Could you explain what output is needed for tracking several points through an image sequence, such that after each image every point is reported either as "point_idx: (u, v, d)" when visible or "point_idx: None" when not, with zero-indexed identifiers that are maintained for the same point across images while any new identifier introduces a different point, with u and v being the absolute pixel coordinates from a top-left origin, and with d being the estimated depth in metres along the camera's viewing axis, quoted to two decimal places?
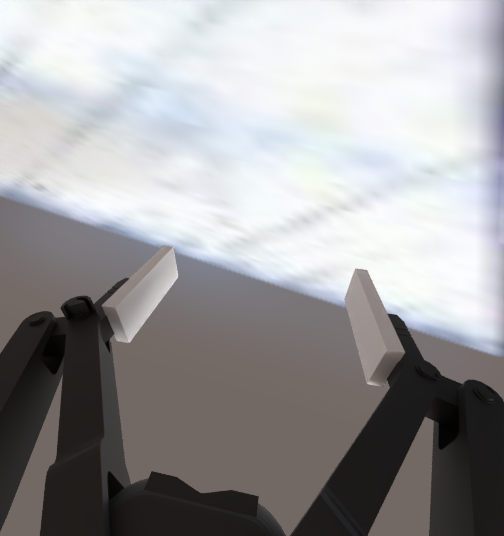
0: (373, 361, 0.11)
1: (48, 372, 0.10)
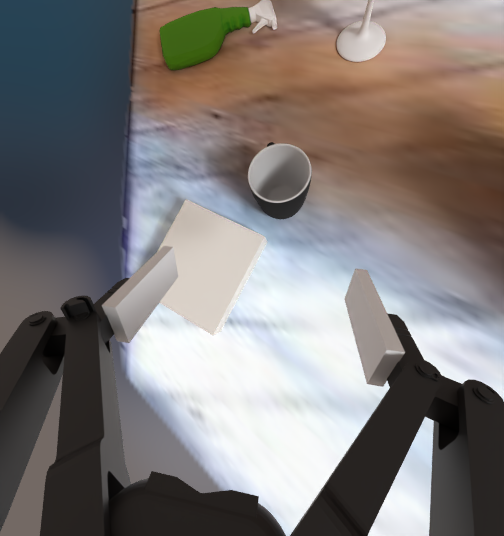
0: (373, 361, 0.11)
1: (48, 372, 0.10)
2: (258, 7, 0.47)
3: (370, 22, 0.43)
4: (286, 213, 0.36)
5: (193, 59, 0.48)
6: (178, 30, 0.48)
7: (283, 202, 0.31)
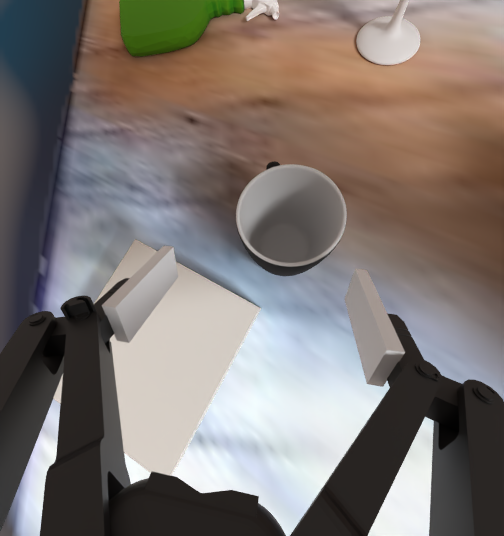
0: (373, 361, 0.11)
1: (48, 372, 0.10)
2: None
3: None
4: (295, 274, 0.22)
5: (163, 44, 0.35)
6: (144, 5, 0.35)
7: (299, 266, 0.18)
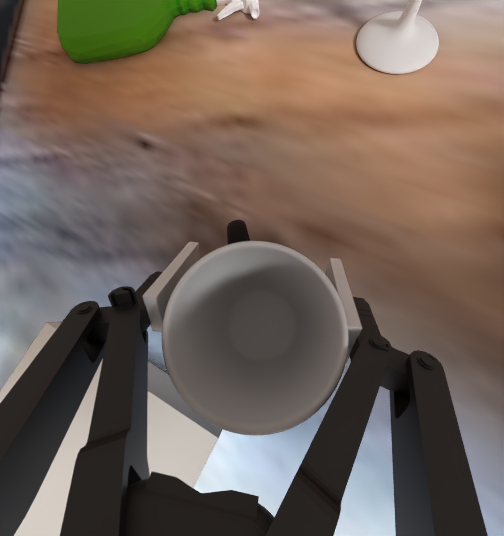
0: None
1: (88, 360, 0.11)
2: None
3: None
4: None
5: (111, 48, 0.27)
6: None
7: (265, 434, 0.10)
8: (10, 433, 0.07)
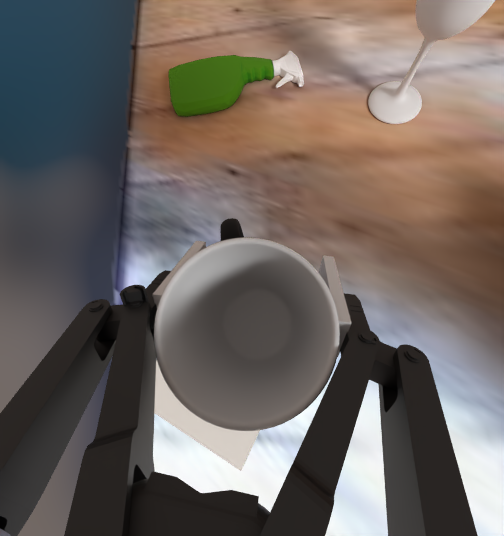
0: None
1: (98, 358, 0.11)
2: (283, 61, 0.42)
3: None
4: None
5: (206, 108, 0.42)
6: (190, 75, 0.42)
7: (257, 429, 0.10)
8: (20, 429, 0.07)
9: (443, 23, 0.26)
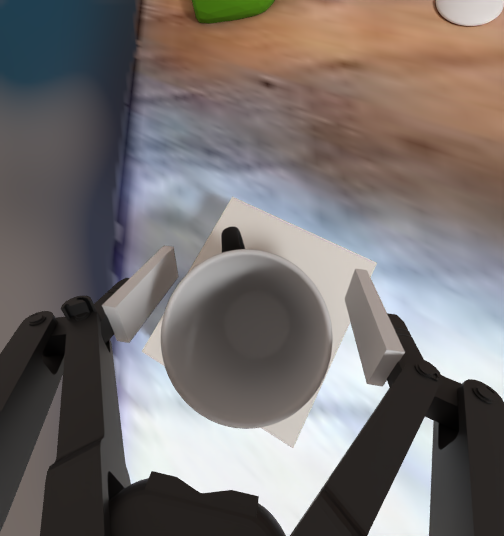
0: (373, 361, 0.11)
1: (48, 372, 0.10)
2: None
3: None
4: None
5: (235, 9, 0.34)
6: None
7: (256, 427, 0.11)
8: None
9: None
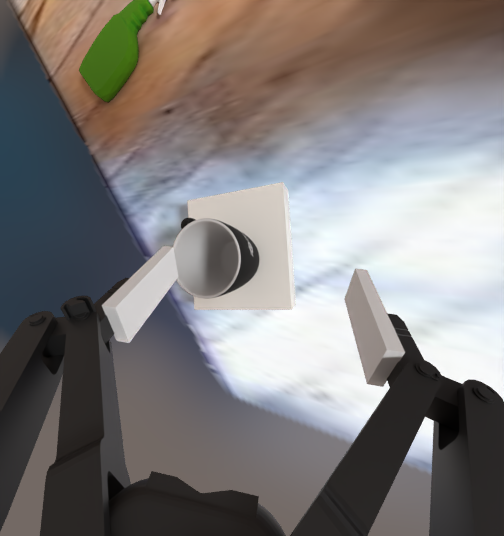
0: (373, 361, 0.11)
1: (48, 372, 0.10)
2: None
3: None
4: (244, 283, 0.29)
5: (120, 78, 0.45)
6: (94, 60, 0.46)
7: (227, 290, 0.25)
8: None
9: None
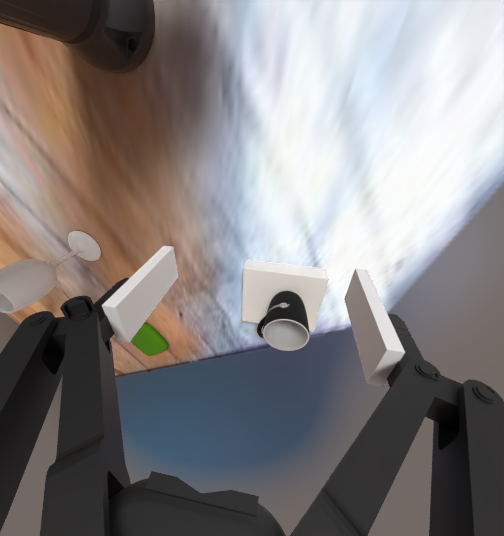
0: (373, 361, 0.11)
1: (48, 372, 0.10)
2: None
3: (70, 245, 0.58)
4: (304, 310, 0.46)
5: (157, 335, 0.72)
6: (145, 347, 0.75)
7: (306, 328, 0.42)
8: None
9: (51, 278, 0.47)
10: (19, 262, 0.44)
